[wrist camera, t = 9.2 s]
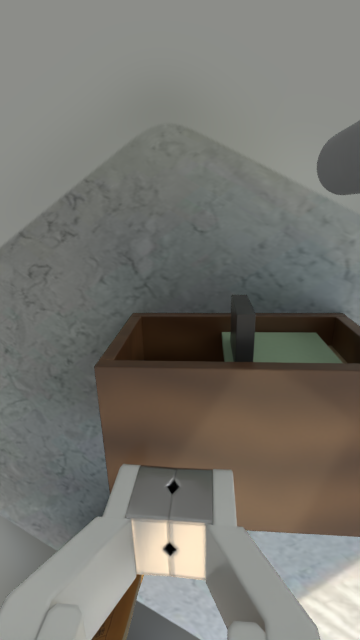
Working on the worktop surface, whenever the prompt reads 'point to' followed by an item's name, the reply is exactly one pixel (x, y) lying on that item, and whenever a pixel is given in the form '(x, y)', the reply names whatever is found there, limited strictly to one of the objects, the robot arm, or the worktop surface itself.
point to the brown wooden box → (240, 415)
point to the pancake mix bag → (120, 615)
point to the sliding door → (269, 341)
